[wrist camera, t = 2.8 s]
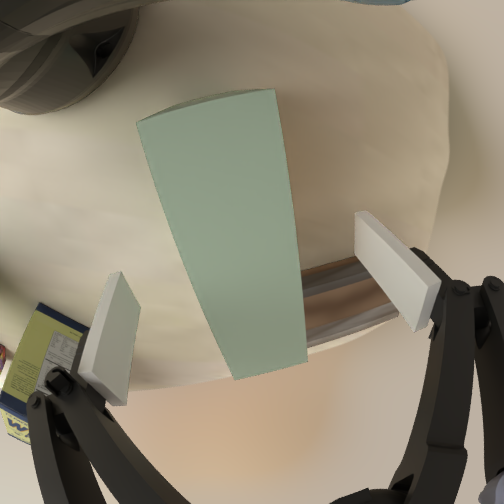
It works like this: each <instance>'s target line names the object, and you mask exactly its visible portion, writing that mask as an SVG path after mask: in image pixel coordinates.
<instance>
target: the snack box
mask: <svg viewBox="0 0 504 504" xmlns="http://www.w3.org/2000/svg"><path fill="white" fill-rule="evenodd" d="M5 362H6V359H5V347H4V346H3V345H1V344H0V375H1V372H2V369H3V367H4V364H5Z"/></svg>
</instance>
